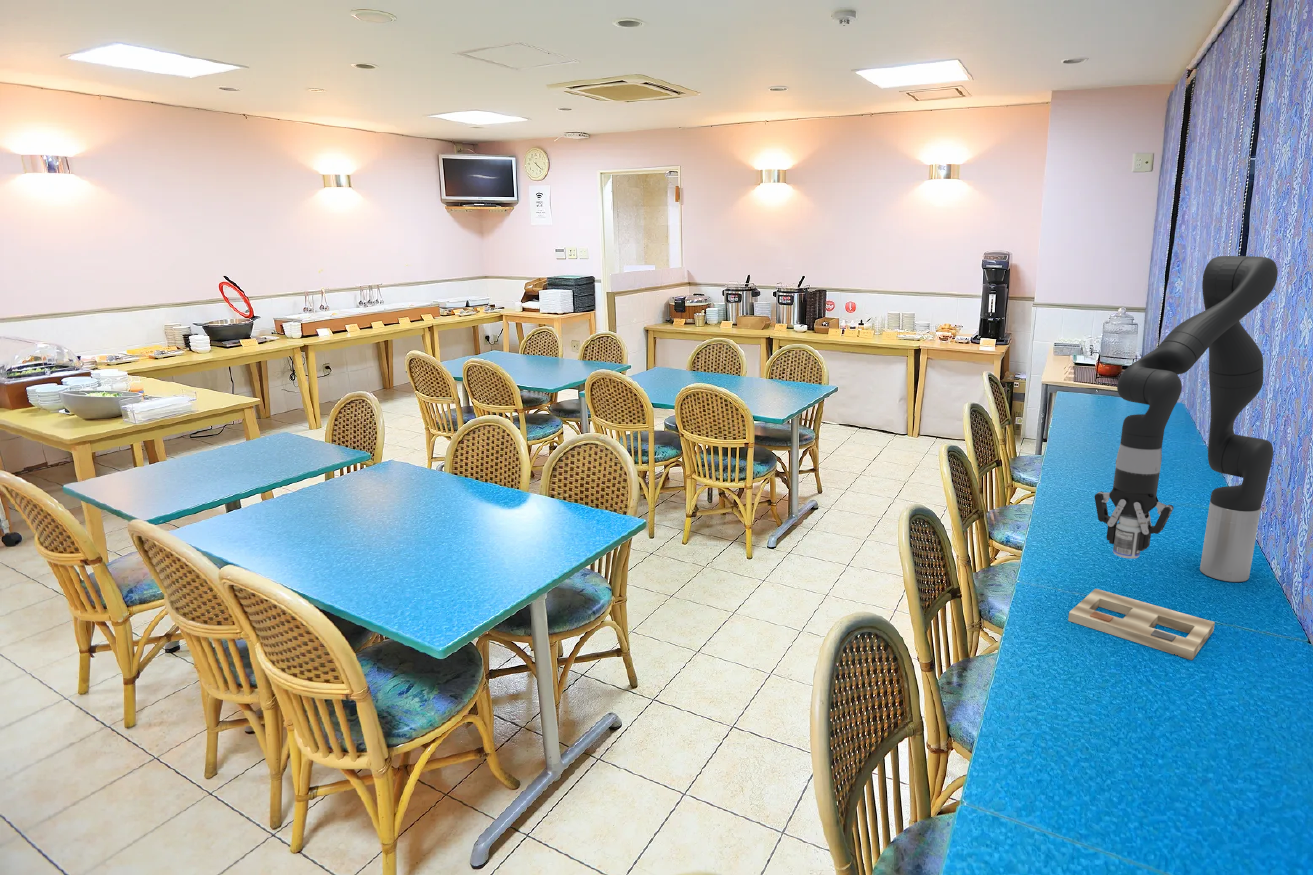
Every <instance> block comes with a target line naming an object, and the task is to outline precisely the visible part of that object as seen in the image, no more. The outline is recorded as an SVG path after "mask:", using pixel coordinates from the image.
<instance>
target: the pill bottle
mask: <svg viewBox="0 0 1313 875" xmlns="http://www.w3.org/2000/svg"><path fill="white" fill-rule="evenodd" d="M1141 533H1142V530H1141V526H1140V524H1139V522H1138V518H1137V517H1134V516H1131V515H1124V514H1121V515H1120V516H1119V521H1118V522H1117V525H1116V531H1115V539H1114V544H1113V547H1112V553H1113V554H1114V555H1115V556H1117V557H1120V558H1124V559H1138V558H1139V557H1140V555H1141V551H1139V550H1138V549H1139V542H1140V535H1141Z"/></svg>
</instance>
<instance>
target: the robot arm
mask: <svg viewBox="0 0 1313 875" xmlns="http://www.w3.org/2000/svg"><path fill="white" fill-rule="evenodd" d="M1278 273H1279V272H1278V266H1277V264H1276V262H1275V260H1273V259H1271V258H1270V257H1265V256H1251V255H1250V256H1247V255H1244V256H1243V255H1242V256H1241V255H1219V256H1216V257H1214V258H1212V259H1211V260H1209V262H1207V264H1206V266H1205V268H1204V271H1203V274H1202V283H1201V284H1202V285H1201V289H1202V298H1203V304H1204V310H1203V311H1201V312H1199V313H1197V314H1195V315H1193V316H1191V317H1189V318H1187V319H1185V320H1184V321H1182V322H1181V323H1179V324H1178V325H1177V326H1175V327H1174V328H1173V329H1172V330H1171V331H1170V332H1169V333H1168V335H1167V336H1165V338H1164V339H1163V340H1162V341H1161V342H1160V344H1159V345H1158V346H1157V347H1156V348H1155V349H1153V350H1152V351H1150V352H1147V353H1146V354H1145V355H1144V356H1142V357H1141V358H1139V359H1138V360H1135V361H1134V362H1133V363H1131V365H1129V366H1128V367H1126V368H1125V370H1123V371H1122V373H1121V375H1120V377H1119V378H1118V381H1117V383H1116V384H1117V385H1116V388H1117V394H1118V395H1119V396H1120V398H1121V399H1123V400H1124V401H1127V402H1130V403H1131V402H1132V403H1136V404H1142V405H1148V409H1147V410H1146V412H1145V413H1144V414H1143V413H1142V414H1139V413H1136V414H1131V415H1128V416H1126V417H1125V418H1124V419H1123V422H1122V428H1121V435H1120V444H1119V447H1118V451H1117V454H1116V459H1115V470H1114V477H1113V486H1112V489H1111V491H1109V492H1104V491H1099V492H1097V493H1096V494H1095V495H1094V500H1095V508H1096V514H1097V520H1098V521H1099V522H1101V523H1104V524H1106V525H1107V529H1106V530H1107V531H1106V537H1105V538H1106V540H1107V541H1108V543H1109V544H1111V545H1114V539H1115V531H1116V525H1117V523H1119V516H1120V515H1121V514H1124V515H1131V516H1134V517H1137V518H1138V522H1139V524H1140V526H1141V530H1142V533H1141V535H1140V542H1139V549H1138V550H1139V551H1140V552H1144V551H1145V550H1147V549H1148V548H1149V547H1150V544H1151V538H1152V534H1155V535H1157V534H1160V533H1161V532H1163V530H1164V529H1165V527H1166V524H1167V522H1168V520H1169V518H1170V517H1171V514H1172V512H1173V510H1174V506H1173V505H1172V504H1165V503H1163V502H1160V501H1159V498H1158V496H1157V495H1158V487H1159V480H1160V474H1161V466H1162V460H1163V454H1162V450H1163V442H1164V434H1165V428H1166V427H1167V424H1168V421H1169V419H1170V417H1171V415H1172V413H1173V410H1174V408H1175V406H1176V404H1177V403H1178V401H1179V399H1180V397H1181V394H1182V389H1183V388H1182V387H1183V386H1182V381H1181V378H1180V377H1179V375H1182V374H1185V373H1186V372H1189V370H1190V369H1191V368H1192V367H1193V366H1194V365H1195V364H1196V363H1197V362H1198V360H1199V359H1200V358H1201V357H1202V356H1203V354H1204V353H1205V352H1207V350H1208V381H1209V395H1210V422H1209V434H1208V446H1207V461H1208V465H1209V468H1211V470H1212V471H1214V472H1216V473H1220V474H1223V475H1229V476H1233V477H1239V478H1243V479H1242V482H1241V484H1239V485H1229V486H1228V485H1227V486H1221V487H1216V488H1214V489H1213V490H1211V493H1210V494H1211V495H1210V500H1209V505H1208V511H1207V513H1208V514H1207V519H1206V527H1205V531H1204V532H1205V534H1204V540H1203V545H1202V546H1203V547H1202V553H1201V560H1200V566H1199V570H1200V572H1201V573H1202V574H1204V575H1205V576H1207V577H1210V578H1213V579H1216V580H1219V581H1224V582H1231V583H1241V582H1246V581H1248V580H1249V578H1250V574H1251V568H1252V563H1253V556H1254V550H1255V546H1256V539H1257V538H1256V537H1257V533H1258V526H1259V522H1260V521H1259V520H1260V514H1261V510H1262V503H1263V501H1264V496H1265V493H1266V489H1267V484H1268V483H1267V482H1268V479H1269V475H1270V472H1271V467H1272V463H1273V458H1274V446H1273V444H1272V442H1271V441H1270V440H1268V439H1264V438H1257V437H1253V436H1247V435H1246V436H1245V435H1240V434H1236V433H1235V431H1234V426H1235V420H1236V419H1237V417H1238V416H1239V415H1240V413H1241V412H1242V411H1243V410H1244V409H1245V408H1247V406H1248V405H1249V404H1250V403H1251V402H1252V401H1253V400H1254V398H1255V397H1256V396H1257V395H1258V394H1259V393H1260V391H1261V390H1262V388H1263V385H1264V356H1263V353H1262V352H1261V349H1260V348H1259V346H1258V344H1257V343H1256V342H1255V341H1254V339H1253V338H1252V336H1251V335H1250V334H1249V333H1248V331H1247V330H1246V329H1245V328H1244V326H1243V325H1242V323H1241V321H1240V320H1242V319H1243V318H1244V317H1245V316H1247V315H1248V314H1249V313H1251V311H1252V310H1254V309H1255V308H1256V307H1258V306H1259V305H1260V304H1262V302H1263V301H1265V299H1266V298H1268V297H1269V295H1270V294H1271V293H1272V291H1273V290H1274V288H1275V285H1276V283H1277V281H1278ZM1109 499H1110V500H1111V503H1112V504H1113V505H1114V507H1115V508H1114V510H1113V512H1112V513H1111V515H1109V511H1108V505H1107V503H1108V502H1109ZM1154 508H1156V509H1157V514H1158V515H1159V516H1158V519H1157V520H1156V523H1154V525H1152V522H1151V521H1152V520H1151V519H1152V518H1151V514H1150V512H1151V511H1152V510H1153V509H1154Z"/></svg>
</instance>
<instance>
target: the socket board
mask: <svg viewBox="0 0 1313 875" xmlns="http://www.w3.org/2000/svg"><path fill="white" fill-rule="evenodd" d="M1098 608H1102V609H1106V610H1109V611H1111V612H1115V613H1120V614H1123V615H1125V616H1124V617H1122V618H1121V617H1118V616H1114V615H1110V614H1107V613H1105V612H1101V611H1098ZM1067 621H1068V622H1071V623H1074V624H1077V625H1081V626H1084V627H1086V628H1090V629H1093V630H1096V631H1100V632H1103V633H1104V634H1105V633H1106V634H1109V635H1112V636H1115V637H1118V638H1121V639H1123V640H1127V641H1131V642H1134V643H1137V644H1140V645H1143V646H1147V647H1148V648H1149V647H1150V648H1152V649H1156V650H1159V651H1161V652H1166V653H1168V654H1171V655H1174V654H1175V656H1177V655H1178V656H1177V657H1180V658H1184V659H1187V660H1190V661H1193V660H1194V658H1195V657H1196V656H1197V654H1198V653H1199V651H1200V650H1201V649H1202V647H1203V646H1204V645H1205V643H1206V642H1207V641H1208V639H1209V638H1210V636H1211V635H1212V634H1213V633H1214V630H1215V623H1216V622H1215V621H1213V620H1208V619H1204V618H1201V617H1198V616H1194V615H1190V614H1187V613H1184V612H1179V611H1178V610H1177V611H1176V610H1174V609H1173V610H1172V609H1170V608H1166V607H1163V606H1160V605H1155V604H1151V603H1148V602H1145V601H1141V600H1137V599H1134V598H1131V597H1128V596H1124V595H1119V594H1116V593H1114V592H1113V593H1112V592H1110V591H1105V590H1102V589H1099V588H1094V589H1093V590H1092V591H1091V592H1090V593H1089V594H1087V596H1086V597H1085V598H1083V599H1082V600H1081V601H1080V602H1079V603H1078V604H1077V605H1076V606H1074V607H1073V608H1072V609H1070V611H1069V612H1068V620H1067ZM1157 625H1160V626H1163V627H1166V628H1170V629H1172V630H1176V631H1180V632H1183V633H1187V634H1188V635H1187V636H1186V637H1184V636H1180V635H1177V634H1174V633H1171V632H1167V631H1164V630H1161V629H1158V628H1157V629H1156V628H1155V627H1156V626H1157Z"/></svg>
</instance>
